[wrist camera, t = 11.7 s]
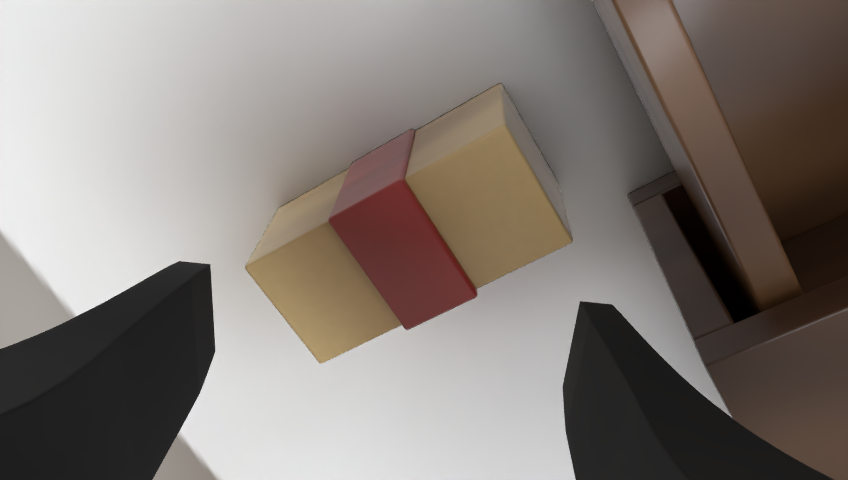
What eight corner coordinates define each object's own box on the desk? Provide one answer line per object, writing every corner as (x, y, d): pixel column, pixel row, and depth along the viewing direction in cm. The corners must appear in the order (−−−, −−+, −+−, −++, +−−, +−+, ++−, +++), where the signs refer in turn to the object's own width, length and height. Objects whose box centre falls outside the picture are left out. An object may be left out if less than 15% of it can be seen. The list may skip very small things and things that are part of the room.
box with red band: (499, 78, 19) (504, 122, 15) (561, 187, 20) (577, 250, 17) (274, 205, 21) (237, 268, 17) (343, 298, 22) (320, 373, 19)
